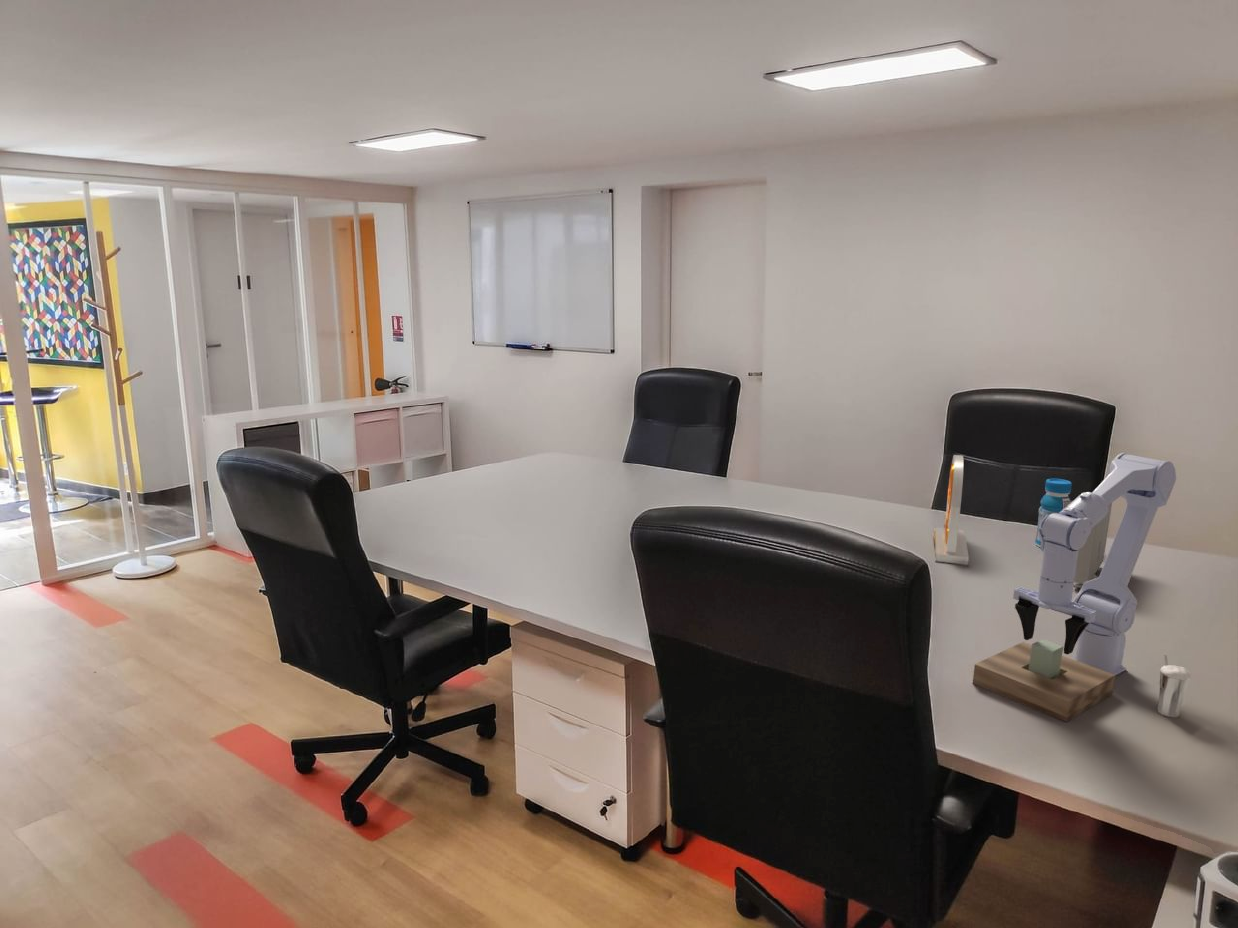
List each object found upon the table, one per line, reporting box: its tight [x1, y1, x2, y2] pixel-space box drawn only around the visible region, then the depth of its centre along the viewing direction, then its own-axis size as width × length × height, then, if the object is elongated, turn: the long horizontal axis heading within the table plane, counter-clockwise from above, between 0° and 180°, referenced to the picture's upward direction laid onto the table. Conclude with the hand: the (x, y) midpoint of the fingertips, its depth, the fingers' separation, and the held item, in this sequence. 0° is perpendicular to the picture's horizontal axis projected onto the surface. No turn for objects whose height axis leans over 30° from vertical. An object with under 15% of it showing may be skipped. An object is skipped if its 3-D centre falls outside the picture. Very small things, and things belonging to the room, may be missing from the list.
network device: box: [1073, 502, 1113, 589], centre depth 224 cm, size 26×9×20 cm, turn 143°
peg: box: [1028, 638, 1064, 679], centre depth 163 cm, size 4×4×8 cm
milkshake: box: [1157, 654, 1191, 719], centre depth 155 cm, size 4×5×10 cm
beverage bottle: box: [1034, 478, 1073, 548], centre depth 250 cm, size 8×8×20 cm
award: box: [932, 454, 970, 566], centre depth 245 cm, size 28×9×28 cm, turn 161°
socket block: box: [972, 641, 1116, 723], centre depth 163 cm, size 18×18×4 cm
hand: (1047, 645), depth 162 cm, fingers open, 7 cm apart
